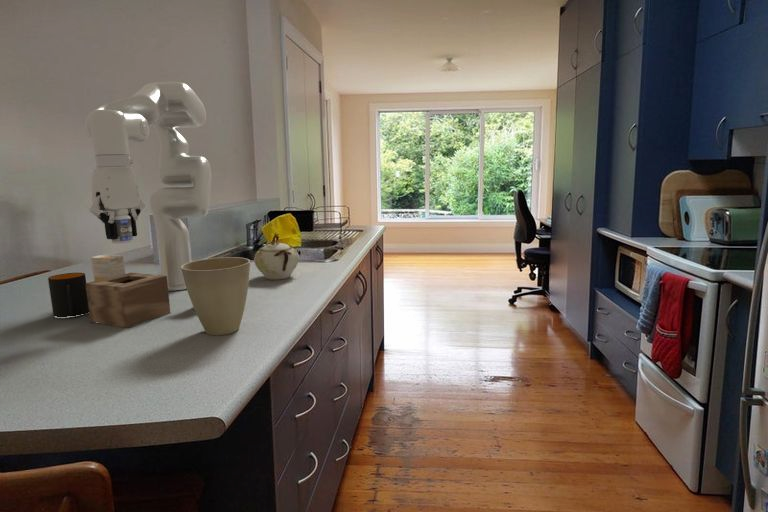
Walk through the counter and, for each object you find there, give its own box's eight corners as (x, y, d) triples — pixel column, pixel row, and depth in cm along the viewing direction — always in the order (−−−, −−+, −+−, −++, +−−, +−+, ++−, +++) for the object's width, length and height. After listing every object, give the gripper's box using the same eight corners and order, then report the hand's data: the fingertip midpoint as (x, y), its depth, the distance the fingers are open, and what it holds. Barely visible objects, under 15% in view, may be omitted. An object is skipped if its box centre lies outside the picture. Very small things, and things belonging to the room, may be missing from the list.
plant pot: (202, 321, 123) (196, 257, 120) (262, 320, 123) (257, 256, 120) (176, 342, 108) (168, 270, 106) (243, 341, 108) (238, 269, 105)
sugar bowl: (309, 279, 167) (307, 234, 164) (266, 285, 159) (262, 239, 156) (288, 269, 183) (286, 229, 181) (248, 275, 176) (244, 232, 173)
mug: (53, 324, 124) (47, 283, 122) (53, 313, 134) (48, 275, 132) (91, 318, 128) (86, 278, 126) (89, 307, 138) (84, 271, 136)
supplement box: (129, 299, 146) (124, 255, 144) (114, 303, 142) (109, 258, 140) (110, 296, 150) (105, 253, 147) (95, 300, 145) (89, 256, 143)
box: (90, 322, 124) (85, 283, 123) (135, 308, 136) (130, 272, 134) (127, 327, 119) (122, 287, 117) (170, 312, 131) (166, 275, 129)
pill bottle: (124, 243, 121) (120, 209, 120) (107, 243, 122) (103, 209, 121) (137, 240, 126) (133, 207, 124) (121, 240, 127) (117, 207, 125)
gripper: (132, 163, 130) (140, 232, 133) (69, 163, 115) (79, 242, 118) (153, 162, 127) (160, 233, 130) (91, 162, 112) (101, 243, 115)
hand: (122, 236), depth 124 cm, fingers closed on pill bottle, 4 cm apart
